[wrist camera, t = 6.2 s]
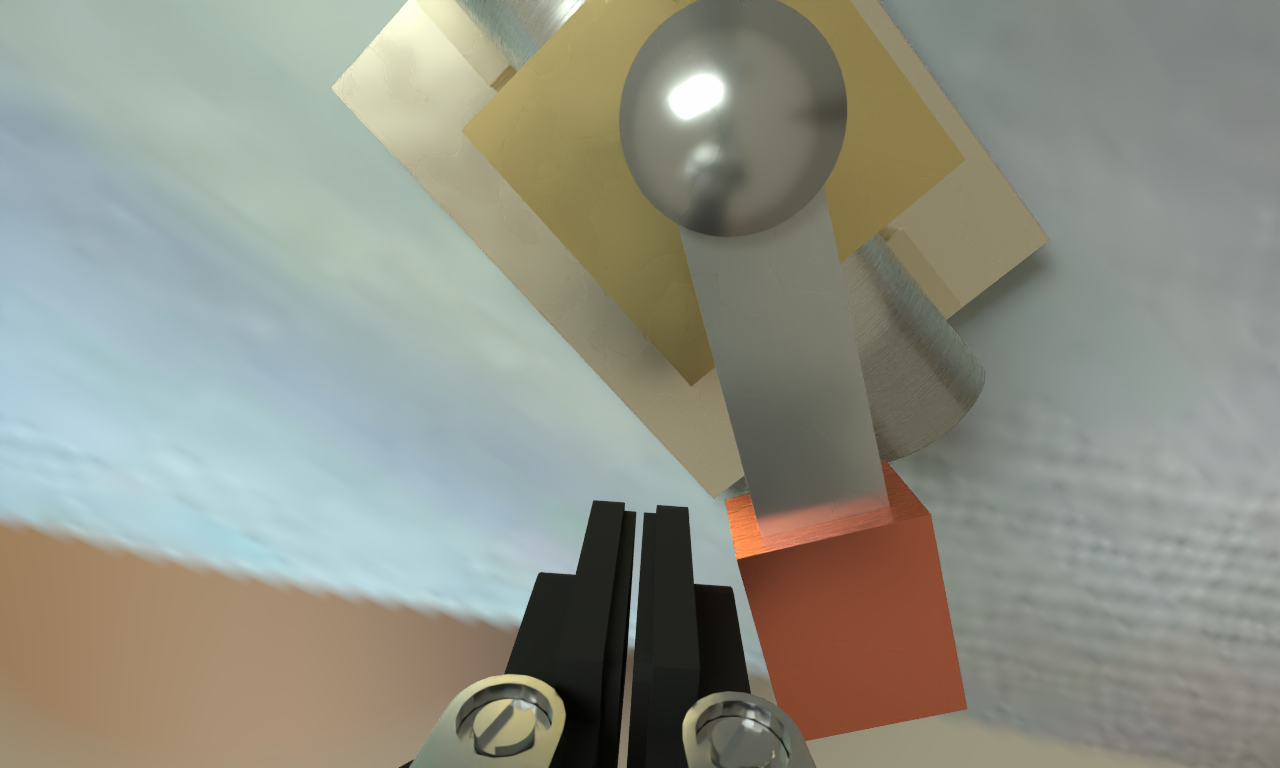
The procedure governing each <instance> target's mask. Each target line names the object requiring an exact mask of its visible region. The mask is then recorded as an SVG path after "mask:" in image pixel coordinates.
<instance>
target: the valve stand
mask: <svg viewBox="0 0 1280 768" xmlns="http://www.w3.org/2000/svg"><path fill="white" fill-rule="evenodd" d="M697 1H699V0H409V1H408V2H407V3H406V4H405V5H404V6H403V7H402V9H401V10H400V11H399V12H398V13H397V14H396V15H395V16H394V18H393V19H392V20H391V21H390V22H389V23H388V24H387V26H386V27H385V28H384V29H383V30H382V31H381V32H380V33H379V35H378V36H377V37H376V38H375V39H374V40H373V41H372V43H371V44H370V45H369V46H368V47H367V48H366V49H365V50H364V52H363V53H362V54H361V55H360V56H359V57H358V58H357V60H356V61H355V62H354V63H353V64H352V65H351V66H350V67H349V69H348V70H347V71H346V72H345V73H344V74H343V75H342V77H341V78H340V79H339V80H338V81H337V82H336V83H335V84H334V86H333V87H332V88H331V89H332V90H333V91H334V92H335V93H336V94H337V95H338V96H339V97H340V99H341V100H342V101H343V102H344V103H345V104H346V105H347V106H348V107H349V108H350V109H351V110H352V111H353V112H354V114H355V115H356V116H357V117H358V118H359V119H360V120H361V121H362V122H363V123H364V124H365V125H366V126H367V127H368V129H369V130H370V131H371V132H372V133H373V134H374V135H375V136H376V137H377V138H378V139H379V140H380V141H381V142H382V144H383V145H384V146H385V147H386V148H387V149H388V150H389V151H390V152H391V153H392V154H393V155H394V156H395V158H396V159H397V160H398V161H399V162H400V163H401V164H402V165H403V166H404V167H405V168H406V169H407V170H408V171H409V173H410V174H411V175H412V176H413V177H414V178H415V179H416V180H417V181H418V182H419V183H420V184H421V185H422V186H423V188H424V189H425V190H426V191H427V192H428V193H429V194H430V195H431V196H432V197H433V198H434V199H435V200H436V201H437V203H438V204H439V205H440V206H441V207H442V208H443V209H444V210H445V211H446V212H447V213H448V214H449V215H450V217H451V218H452V219H453V220H454V221H455V222H456V223H457V224H458V225H459V226H460V227H461V228H462V229H463V230H464V232H465V233H466V234H467V235H468V236H469V237H470V238H471V239H472V240H473V241H474V242H475V243H476V244H477V245H478V247H479V248H480V249H481V250H482V251H483V252H484V253H485V254H486V255H487V256H488V257H489V258H490V259H491V260H492V262H493V263H494V264H495V265H496V266H497V267H498V268H499V269H500V270H501V271H502V272H503V273H504V274H505V276H506V277H507V278H508V279H509V280H510V281H511V282H512V283H513V284H514V285H515V286H516V287H517V288H518V289H519V291H520V292H521V293H522V294H523V295H524V296H525V297H526V298H527V299H528V300H529V301H530V302H531V303H532V304H533V306H534V307H535V308H536V309H537V310H538V311H539V312H540V313H541V314H542V315H543V316H544V317H545V318H546V319H547V321H548V322H549V323H550V324H551V325H552V326H553V327H554V328H555V329H556V330H557V331H558V332H559V333H560V334H561V336H562V337H563V338H564V339H565V340H566V341H567V342H568V343H569V344H570V345H571V346H572V347H573V348H574V350H575V351H576V352H577V353H578V354H579V355H580V356H581V357H582V358H583V359H584V360H585V361H586V362H587V363H588V365H589V366H590V367H591V368H592V369H593V370H594V371H595V372H596V373H597V374H598V375H599V376H600V377H601V378H602V380H603V381H604V382H605V383H606V384H607V385H608V386H609V387H610V388H611V389H612V390H613V391H614V392H615V393H616V395H617V396H618V397H619V398H620V399H621V400H622V401H623V402H624V403H625V404H626V405H627V406H628V407H629V409H630V410H631V411H632V412H633V413H634V414H635V415H636V416H637V417H638V418H639V419H640V420H641V421H642V422H643V424H644V425H645V426H646V427H647V428H648V429H649V430H650V431H651V432H652V433H653V434H654V435H655V436H656V437H657V439H658V440H659V441H660V442H661V443H662V444H663V445H664V446H665V447H666V448H667V449H668V450H669V451H670V452H671V454H672V455H673V456H674V457H675V458H676V459H677V460H678V461H679V462H680V463H681V464H682V465H683V466H684V467H685V469H686V470H687V471H688V472H689V473H690V474H691V475H692V476H693V477H694V478H695V479H696V480H697V481H698V483H699V484H700V485H701V486H702V487H703V488H704V489H705V490H706V491H707V492H708V493H709V494H710V495H711V496H712V498H713V499H714V498H716V497H717V496H718V495H720V494H721V493H722V492H724V491H725V490H726V489H727V488H729V487H730V486H731V485H733V484H734V483H735V482H737V481H738V480H739V479H740V478H742V477H743V476H744V472H743V468H742V464H741V461H740V457H739V453H738V449H737V446H736V442H735V438H734V434H733V431H732V427H731V423H730V419H729V416H728V412H727V408H726V404H725V401H724V397H723V393H722V389H721V386H720V382H719V378H718V375H717V371H716V367H715V363H714V360H713V356H712V352H711V348H710V345H709V341H708V337H707V333H706V330H705V326H704V322H703V318H702V315H701V311H700V307H699V303H698V300H697V296H696V292H695V288H694V285H693V281H692V277H691V273H690V270H689V266H688V262H687V258H686V255H685V251H684V247H683V243H682V240H681V236H680V232H679V228H678V225H677V224H676V223H675V222H673V221H672V220H670V219H669V218H667V217H666V216H664V215H663V214H662V213H661V212H660V211H659V210H657V209H656V208H655V207H654V206H653V205H652V204H651V203H650V202H649V200H648V199H647V198H646V197H645V196H644V195H643V193H642V192H641V190H640V189H639V187H638V186H637V184H636V183H635V181H634V179H633V177H632V175H631V173H630V171H629V169H628V166H627V163H626V160H625V157H624V154H623V149H622V145H621V140H620V129H619V111H620V102H621V96H622V91H623V87H624V84H625V80H626V77H627V74H628V72H629V69H630V67H631V65H632V62H633V60H634V59H635V57H636V55H637V53H638V52H639V50H640V48H641V47H642V45H643V44H644V43H645V41H646V40H647V39H648V37H649V36H650V35H651V34H652V33H653V32H654V31H655V30H656V29H657V28H658V27H659V26H660V25H661V24H662V23H663V22H664V21H665V20H666V19H668V18H669V17H670V16H672V15H673V14H674V13H676V12H677V11H679V10H681V9H682V8H684V7H686V6H687V5H689V4H692V3H694V2H697ZM777 1H780V2H782V3H784V4H786V5H788V6H790V7H791V8H793V9H795V10H796V11H798V12H799V13H800V14H802V15H803V16H804V17H806V18H807V19H808V20H809V21H810V22H811V23H812V24H813V25H814V26H815V27H816V28H817V29H818V30H819V31H820V33H821V34H822V35H823V36H824V38H825V39H826V40H827V42H828V43H829V45H830V47H831V49H832V50H833V52H834V54H835V56H836V58H837V61H838V63H839V66H840V68H841V71H842V75H843V79H844V83H845V88H846V96H847V123H846V131H845V137H844V141H843V145H842V149H841V152H840V154H839V157H838V159H837V162H836V165H835V166H834V168H833V170H832V172H831V174H830V176H829V178H828V179H827V181H826V182H825V184H824V188H825V193H826V198H827V203H828V208H829V213H830V217H831V222H832V227H833V232H834V237H835V242H836V247H837V252H838V257H839V261H840V266H841V271H842V276H843V281H844V286H845V291H846V296H847V300H848V305H849V310H850V315H851V320H852V325H853V330H854V335H855V339H856V344H857V349H858V354H859V359H860V364H861V369H862V374H863V379H864V383H865V388H866V393H867V398H868V403H869V408H870V413H871V418H872V422H873V427H874V432H875V437H876V442H877V447H878V452H879V457H880V461H885V460H886V461H887V462H890V461H893V460H896V459H899V458H902V457H904V456H907V455H909V454H912V453H914V452H916V451H918V450H920V449H921V448H923V447H925V446H927V445H928V444H930V443H932V442H933V441H935V440H936V439H938V438H939V437H940V436H942V435H943V434H944V433H946V432H947V431H948V430H950V429H951V428H952V427H953V426H954V425H955V424H956V423H957V422H959V421H960V420H961V418H962V417H963V416H964V415H965V414H966V413H967V412H968V411H969V410H970V408H971V407H972V406H973V404H974V403H975V401H976V400H977V398H978V397H979V395H980V393H981V391H982V388H983V385H984V381H985V371H984V368H983V366H982V365H981V363H980V362H979V361H978V360H977V358H976V357H975V356H974V354H973V353H972V352H971V351H970V349H969V348H968V347H967V346H966V344H965V343H964V342H963V340H962V339H961V338H960V337H959V335H958V334H957V333H956V331H955V330H954V329H953V328H952V326H951V325H950V324H949V322H948V321H947V319H948V318H949V317H951V316H952V315H953V314H954V313H956V312H957V311H958V310H960V309H961V308H962V307H964V306H965V305H966V304H967V303H969V302H970V301H971V300H973V299H974V298H975V297H977V296H978V295H979V294H980V293H982V292H983V291H984V290H986V289H987V288H988V287H989V286H991V285H992V284H993V283H995V282H996V281H997V280H999V279H1000V278H1001V277H1002V276H1004V275H1005V274H1006V273H1008V272H1009V271H1010V270H1012V269H1013V268H1014V267H1015V266H1017V265H1018V264H1019V263H1021V262H1022V261H1023V260H1025V259H1026V258H1027V257H1028V256H1030V255H1031V254H1032V253H1034V252H1035V251H1036V250H1037V249H1039V248H1040V247H1041V246H1043V245H1044V244H1045V243H1047V242H1048V241H1049V238H1048V237H1047V235H1046V234H1045V233H1044V231H1043V230H1042V228H1041V227H1040V226H1039V224H1038V223H1037V221H1036V220H1035V219H1034V217H1033V216H1032V214H1031V213H1030V212H1029V210H1028V209H1027V208H1026V206H1025V205H1024V203H1023V202H1022V201H1021V199H1020V198H1019V196H1018V195H1017V194H1016V192H1015V191H1014V189H1013V188H1012V187H1011V185H1010V184H1009V182H1008V181H1007V180H1006V178H1005V177H1004V176H1003V174H1002V173H1001V171H1000V170H999V169H998V167H997V166H996V164H995V163H994V162H993V160H992V159H991V157H990V156H989V155H988V153H987V152H986V150H985V149H984V148H983V146H982V145H981V144H980V142H979V141H978V139H977V138H976V137H975V135H974V134H973V132H972V131H971V130H970V128H969V127H968V125H967V124H966V123H965V121H964V120H963V118H962V117H961V116H960V114H959V113H958V112H957V110H956V109H955V107H954V106H953V105H952V103H951V102H950V100H949V99H948V98H947V96H946V95H945V93H944V92H943V91H942V89H941V88H940V86H939V85H938V84H937V82H936V81H935V80H934V78H933V77H932V75H931V74H930V73H929V71H928V70H927V68H926V67H925V66H924V64H923V63H922V61H921V60H920V59H919V57H918V56H917V54H916V53H915V52H914V50H913V49H912V48H911V46H910V45H909V43H908V42H907V41H906V39H905V38H904V36H903V35H902V34H901V32H900V31H899V29H898V28H897V27H896V25H895V24H894V22H893V21H892V20H891V18H890V17H889V16H888V14H887V13H886V11H885V10H884V9H883V7H882V6H881V4H880V3H879V2H878V0H777Z"/></svg>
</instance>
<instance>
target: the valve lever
mask: <svg viewBox="0 0 1280 768" xmlns="http://www.w3.org/2000/svg"><path fill="white" fill-rule="evenodd" d="M846 123H847V96H846V88H845V83H844V79H843V75H842V71H841V68H840V66H839V63H838V61H837V58H836V56H835V54H834V52H833V50H832V49H831V47H830V45H829V43H828V42H827V40H826V39H825V38H824V36H823V35H822V34H821V33H820V31H819V30H818V29H817V28H816V27H815V26H814V25H813V24H812V23H811V22H810V21H809V20H808V19H807V18H806V17H804V16H803V15H802V14H800V13H799V12H798V11H796V10H795V9H793V8H791V7H790V6H788V5H786V4H784V3H782V2H780V1H777V0H699V1H697V2H694V3H692V4H689V5H687V6H686V7H684V8H682V9H681V10H679V11H677V12H676V13H674V14H673V15H672V16H670V17H669V18H668V19H666V20H665V21H664V22H663V23H662V24H661V25H660V26H659V27H658V28H657V29H656V30H655V31H654V32H653V33H652V34H651V35H650V36H649V37H648V39H647V40H646V41H645V43H644V44H643V45H642V47H641V48H640V50H639V52H638V53H637V55H636V57H635V59H634V60H633V62H632V65H631V67H630V69H629V72H628V74H627V77H626V80H625V84H624V87H623V91H622V96H621V102H620V111H619V129H620V140H621V145H622V149H623V154H624V157H625V160H626V163H627V166H628V169H629V171H630V173H631V175H632V177H633V179H634V181H635V183H636V184H637V186H638V187H639V189H640V190H641V192H642V193H643V195H644V196H645V197H646V198H647V199H648V200H649V202H650V203H651V204H652V205H653V206H654V207H655V208H656V209H657V210H659V211H660V212H661V213H662V214H663V215H664V216H666V217H667V218H669V219H670V220H672V221H673V222H675V223H676V224H677V225H678V228H679V232H680V236H681V240H682V243H683V247H684V251H685V255H686V258H687V262H688V266H689V270H690V273H691V277H692V281H693V285H694V288H695V292H696V296H697V300H698V303H699V307H700V311H701V315H702V318H703V322H704V326H705V330H706V333H707V337H708V341H709V345H710V348H711V352H712V356H713V360H714V363H715V367H716V371H717V375H718V378H719V382H720V386H721V389H722V393H723V397H724V401H725V404H726V408H727V412H728V416H729V419H730V423H731V427H732V431H733V434H734V438H735V442H736V446H737V449H738V453H739V457H740V461H741V464H742V468H743V472H744V476H745V479H746V483H747V487H748V491H749V494H746V495H742V496H738V497H733V498H729V499H725V502H726V507H727V512H728V517H729V523H730V528H731V533H732V538H733V543H734V548H735V554H736V559H737V562H738V566H739V570H740V573H741V577H742V580H743V584H744V587H745V591H746V594H747V598H748V602H749V605H750V609H751V612H752V616H753V619H754V623H755V626H756V630H757V634H758V637H759V641H760V644H761V648H762V651H763V655H764V659H765V662H766V666H767V669H768V673H769V676H770V680H771V683H772V687H773V690H774V694H775V698H776V701H777V705H778V707H780V708H781V709H782V710H783V711H784V712H785V713H786V714H787V715H788V716H789V717H790V718H792V719H793V721H794V722H795V724H796V726H797V727H798V729H799V730H800V732H801V734H802V736H803V738H804V740H805V741H807V740H813V739H818V738H822V737H828V736H833V735H837V734H843V733H848V732H853V731H858V730H863V729H868V728H873V727H878V726H884V725H888V724H894V723H899V722H903V721H909V720H914V719H919V718H924V717H929V716H934V715H940V714H945V713H950V712H955V711H960V710H965V709H967V705H966V700H965V695H964V689H963V684H962V679H961V673H960V668H959V663H958V657H957V652H956V647H955V641H954V636H953V631H952V625H951V620H950V615H949V609H948V604H947V598H946V593H945V588H944V582H943V577H942V572H941V566H940V561H939V556H938V550H937V545H936V540H935V534H934V529H933V524H932V518H931V514H930V513H929V512H928V510H927V509H926V508H925V507H924V506H923V504H922V503H921V502H920V501H919V500H918V498H917V497H916V496H915V495H914V494H913V492H912V491H911V490H910V489H909V488H908V486H907V485H906V484H905V483H904V482H903V480H902V479H901V478H900V477H899V476H898V474H897V473H896V472H895V471H894V470H893V468H892V467H891V466H890V465H889V464H888V462H887V461H886V460H885V461H880V457H879V452H878V447H877V442H876V437H875V432H874V427H873V422H872V418H871V413H870V408H869V403H868V398H867V393H866V388H865V383H864V379H863V374H862V369H861V364H860V359H859V354H858V349H857V344H856V339H855V335H854V330H853V325H852V320H851V315H850V310H849V305H848V300H847V296H846V291H845V286H844V281H843V276H842V271H841V266H840V261H839V257H838V252H837V247H836V242H835V237H834V232H833V227H832V222H831V217H830V213H829V208H828V203H827V198H826V193H825V188H824V184H825V182H826V181H827V179H828V178H829V176H830V174H831V172H832V170H833V168H834V166H835V165H836V162H837V159H838V157H839V154H840V152H841V149H842V145H843V141H844V137H845V131H846Z"/></svg>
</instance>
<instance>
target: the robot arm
mask: <svg viewBox="0 0 1280 768" xmlns="http://www.w3.org/2000/svg"><path fill="white" fill-rule="evenodd" d="M624 510H625V503H623V502H609V501H595V500H594V501H593V504H592V508H591V512H590V517H589V521H588V525H587V529H586V533H585V538H584V542H583V546H582V550H581V554H580V559H579V563H578V567H577V571H576V575H571V574H557V573H544V572H540V573H539V574H538V576H537V579H536V582H535V585H534V588H533V591H532V593H531V596H530V599H529V602H528V605H527V608H526V611H525V614H524V617H523V620H522V623H521V626H520V629H519V632H518V635H517V638H516V641H515V644H514V647H513V650H512V653H511V656H510V659H509V662H508V664H507V668H506V670H505V673H504V675H500V676H494V677H489V678H487V679H484V680H482V681H479V682H476V683H474V684H472V685H471V686H469V687H468V688H466V689H465V690H463V691H462V692H460V693H459V694H458V695H457V696H456V698H455V699H454V700H453V701H452V702H451V703H450V704H449V706H448V707H447V709H446V710H445V712H444V713H443V715H442V717H441V718H440V720H439V721H438V723H437V724H436V726H435V727H434V729H433V731H432V732H431V734H430V735H429V737H428V738H427V740H426V742H425V743H424V745H423V747H422V748H421V749H420V751H419V753H418V754H417V756H416V758H415V759H414V760H412V761H410V762H408V763H406V764H405V765H403V766H401V767H399V768H617V766H618V754H619V743H620V731H621V720H622V707H623V696H624V685H625V673H626V661H627V647H628V632H629V617H630V602H631V586H632V571H633V556H634V540H635V525H636V512H632V511H624ZM627 768H816V765H815V763H814V761H813V759H812V756H811V754H810V752H809V749H808V747H807V745H806V742H805V740H804V738H803V736H802V734H801V732H800V730H799V729H798V727H797V726H796V724H795V722H794V721H793V719H792V718H790V717H789V716H788V715H787V714H786V713H785V712H784V711H783V710H782V709H781V708H780V707H778V706H776V705H774V704H773V703H771V702H769V701H767V700H765V699H764V698H761V697H758V696H755V695H751V692H750V686H749V680H748V674H747V669H746V663H745V657H744V651H743V645H742V639H741V634H740V628H739V622H738V616H737V610H736V605H735V599H734V593H733V589H732V588H731V587H729V586H715V585H702V584H694V579H693V565H692V552H691V538H690V525H689V511H688V507H676V506H662V505H657V509H656V513H644V522H643V536H642V551H641V565H640V580H639V594H638V609H637V623H636V638H635V653H634V667H633V682H632V697H631V712H630V727H629V742H628V757H627Z"/></svg>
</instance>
